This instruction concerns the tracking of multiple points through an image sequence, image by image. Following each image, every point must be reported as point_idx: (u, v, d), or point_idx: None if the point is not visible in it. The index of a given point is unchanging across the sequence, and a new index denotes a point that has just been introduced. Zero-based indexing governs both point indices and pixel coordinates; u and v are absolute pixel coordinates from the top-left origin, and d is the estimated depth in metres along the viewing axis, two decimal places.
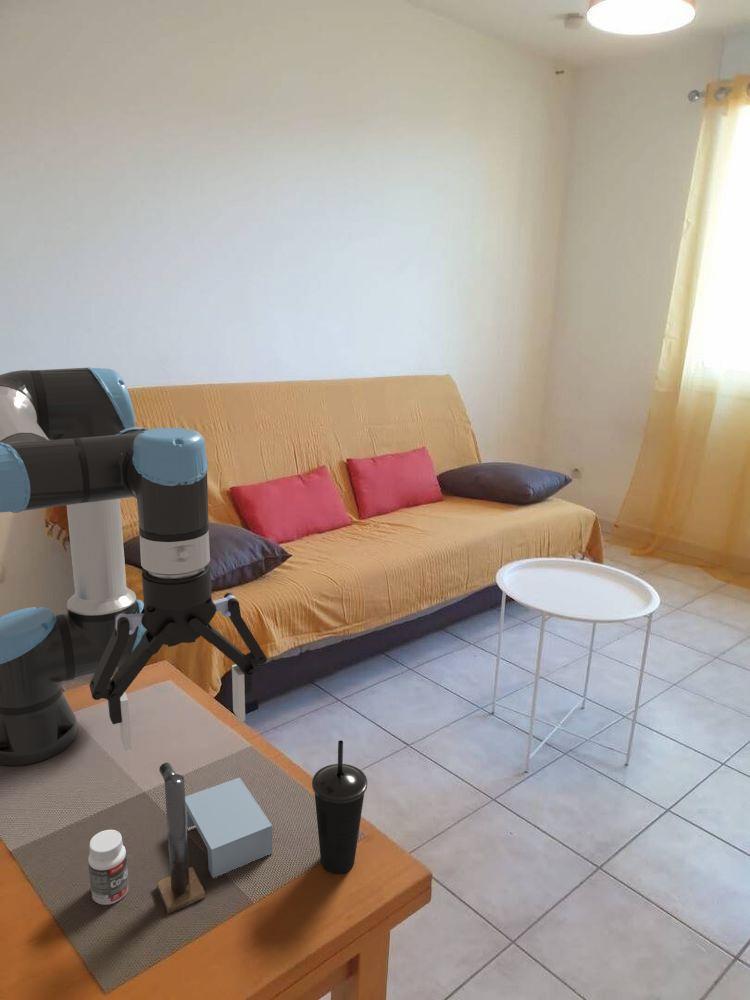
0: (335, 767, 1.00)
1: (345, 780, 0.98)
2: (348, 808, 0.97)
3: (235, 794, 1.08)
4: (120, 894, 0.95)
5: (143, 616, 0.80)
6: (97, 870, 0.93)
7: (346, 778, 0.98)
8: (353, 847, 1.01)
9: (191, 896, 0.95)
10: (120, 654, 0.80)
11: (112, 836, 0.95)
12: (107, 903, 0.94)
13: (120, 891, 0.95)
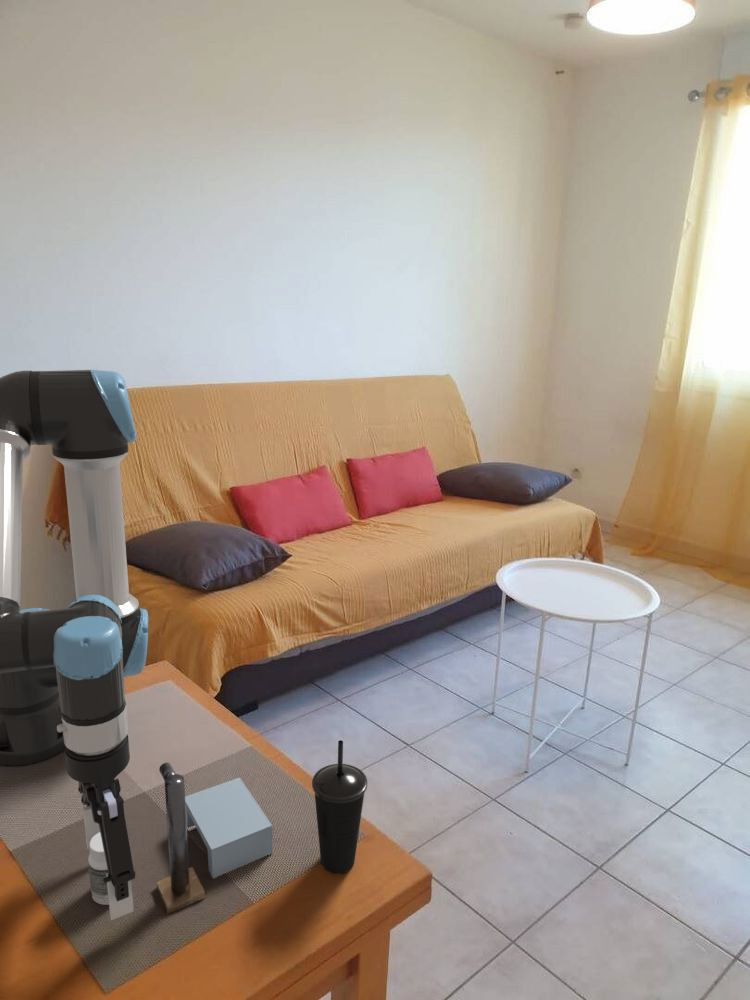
0: (335, 767, 1.00)
1: (345, 780, 0.98)
2: (348, 808, 0.97)
3: (235, 794, 1.08)
4: None
5: None
6: (97, 870, 0.93)
7: (346, 778, 0.98)
8: (353, 847, 1.01)
9: (191, 896, 0.95)
10: None
11: None
12: (107, 903, 0.94)
13: None
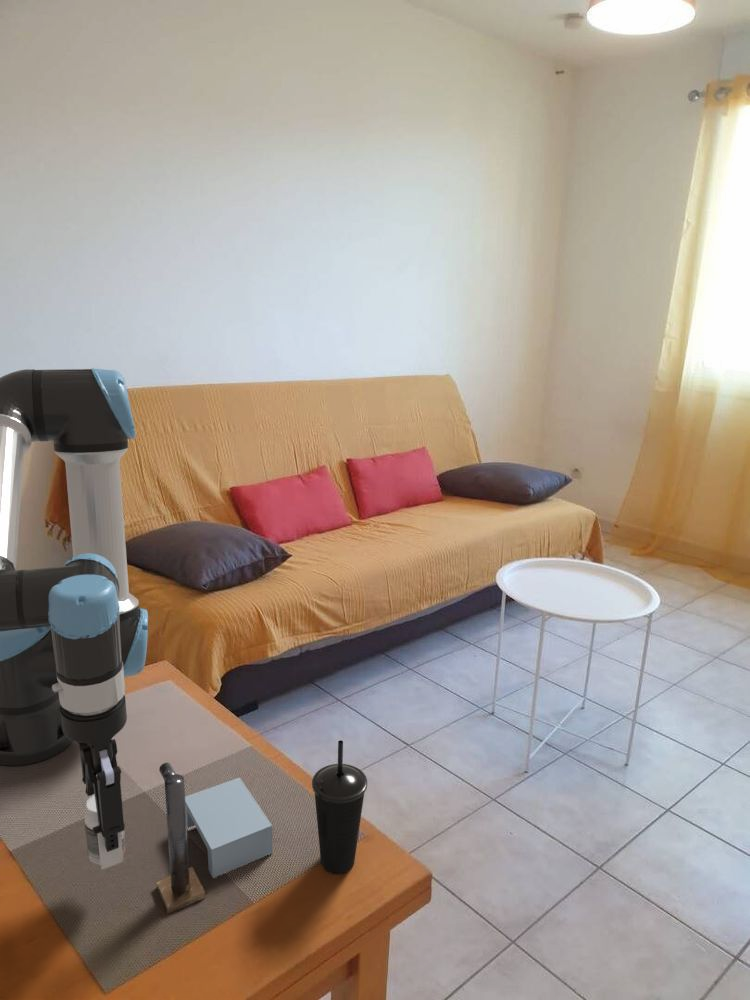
0: (335, 767, 1.00)
1: (345, 780, 0.98)
2: (348, 808, 0.97)
3: (235, 794, 1.08)
4: None
5: None
6: None
7: (346, 778, 0.98)
8: (353, 847, 1.01)
9: (191, 896, 0.95)
10: None
11: None
12: None
13: None
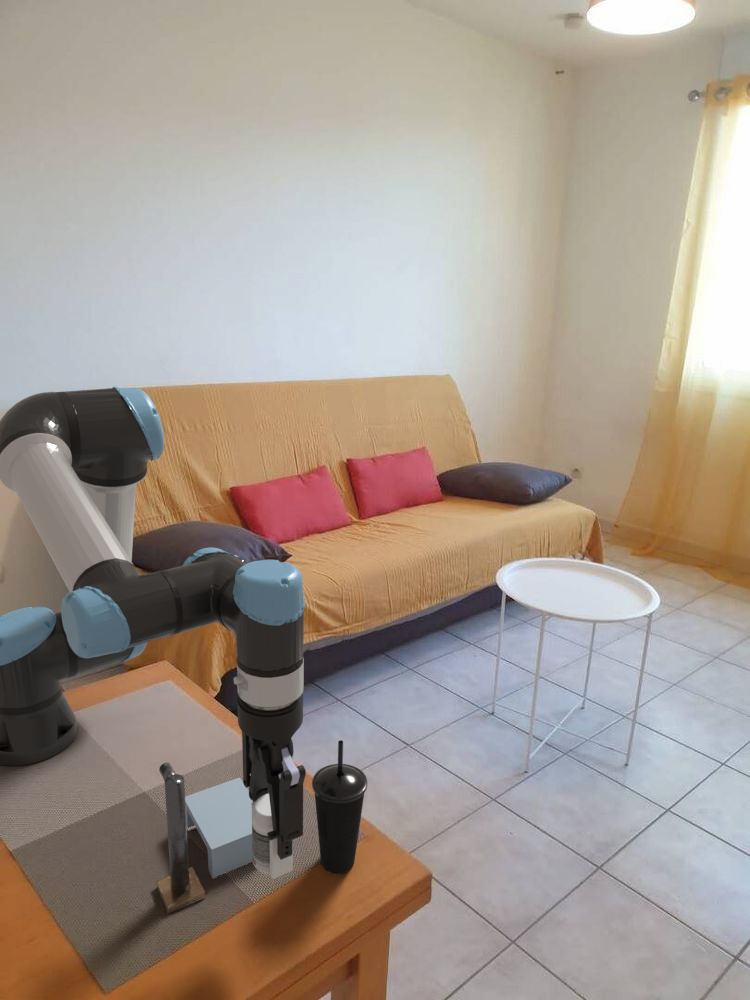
0: (335, 767, 1.00)
1: (345, 780, 0.98)
2: (348, 808, 0.97)
3: (235, 794, 1.08)
4: None
5: None
6: (264, 836, 0.85)
7: (346, 778, 0.98)
8: (353, 847, 1.01)
9: (191, 896, 0.95)
10: (245, 749, 0.89)
11: None
12: None
13: None
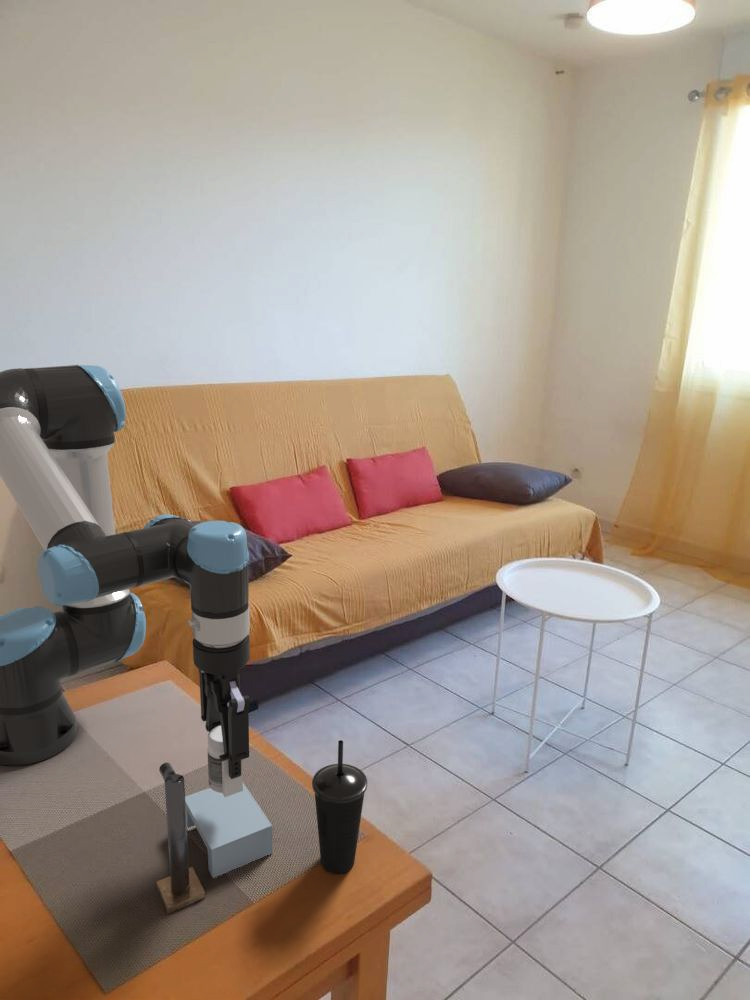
0: (335, 767, 1.00)
1: (345, 780, 0.98)
2: (348, 808, 0.97)
3: (235, 794, 1.08)
4: None
5: None
6: (217, 759, 1.00)
7: (346, 778, 0.98)
8: (353, 847, 1.01)
9: (191, 896, 0.95)
10: (202, 687, 1.03)
11: None
12: None
13: None
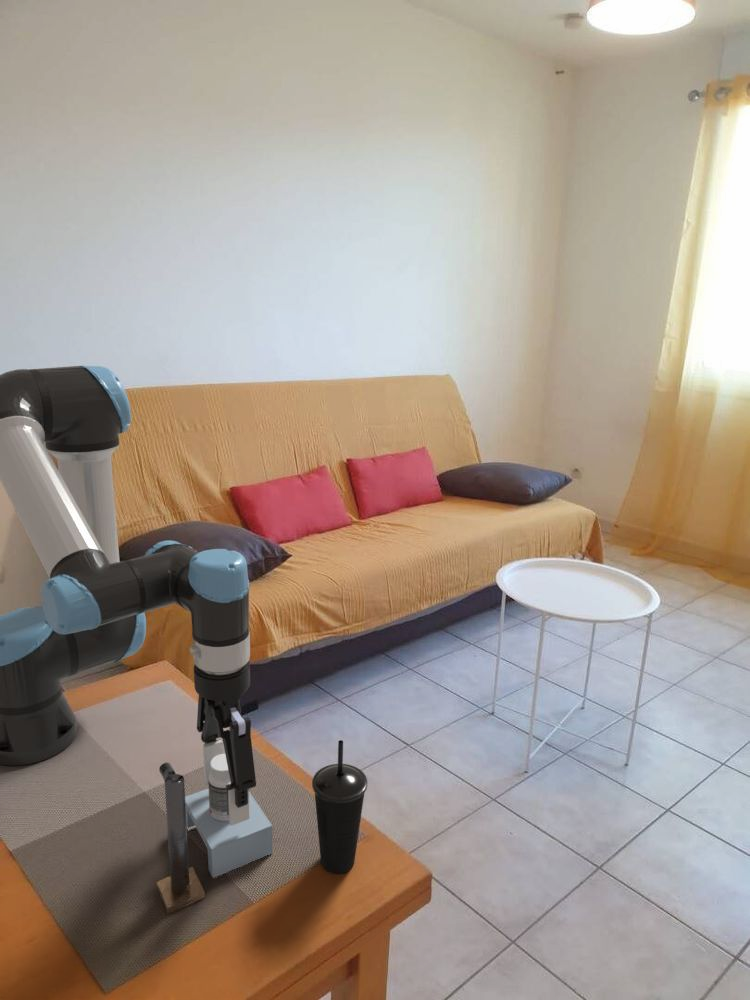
0: (335, 767, 1.00)
1: (345, 780, 0.98)
2: (348, 808, 0.97)
3: None
4: None
5: None
6: (218, 788, 1.01)
7: (346, 778, 0.98)
8: (353, 847, 1.01)
9: (191, 896, 0.95)
10: (200, 705, 1.05)
11: None
12: (225, 819, 1.03)
13: None
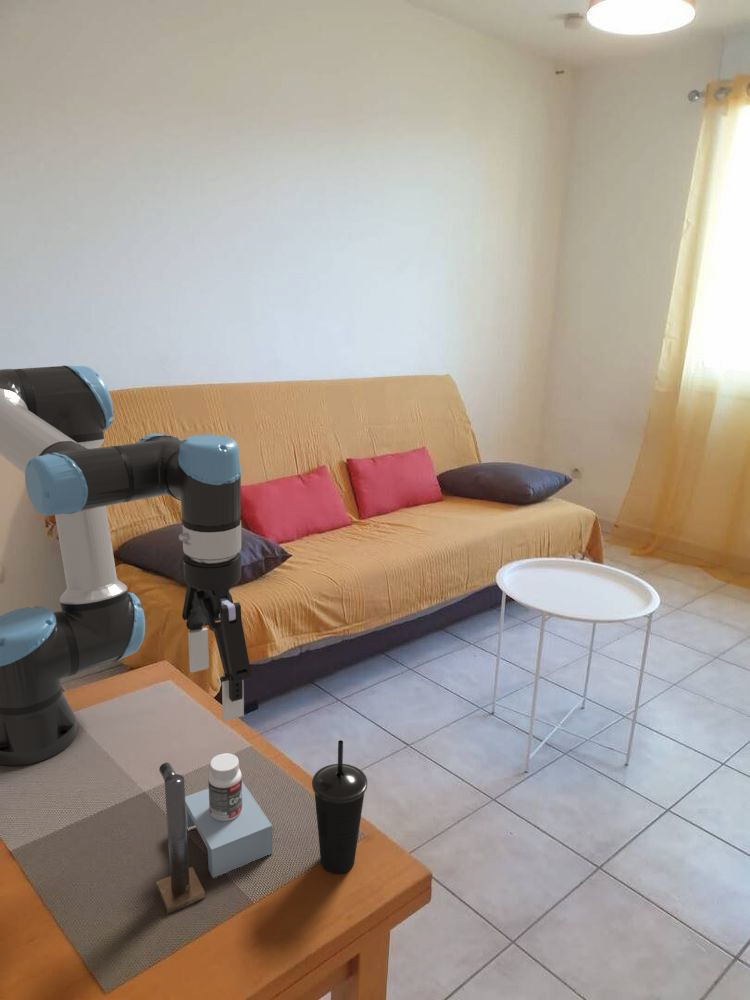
0: (335, 767, 1.00)
1: (345, 780, 0.98)
2: (348, 808, 0.97)
3: None
4: (237, 812, 1.03)
5: None
6: (218, 788, 1.01)
7: (346, 778, 0.98)
8: (353, 847, 1.01)
9: (191, 896, 0.95)
10: (188, 596, 1.03)
11: (229, 758, 1.03)
12: (225, 819, 1.03)
13: (237, 809, 1.03)
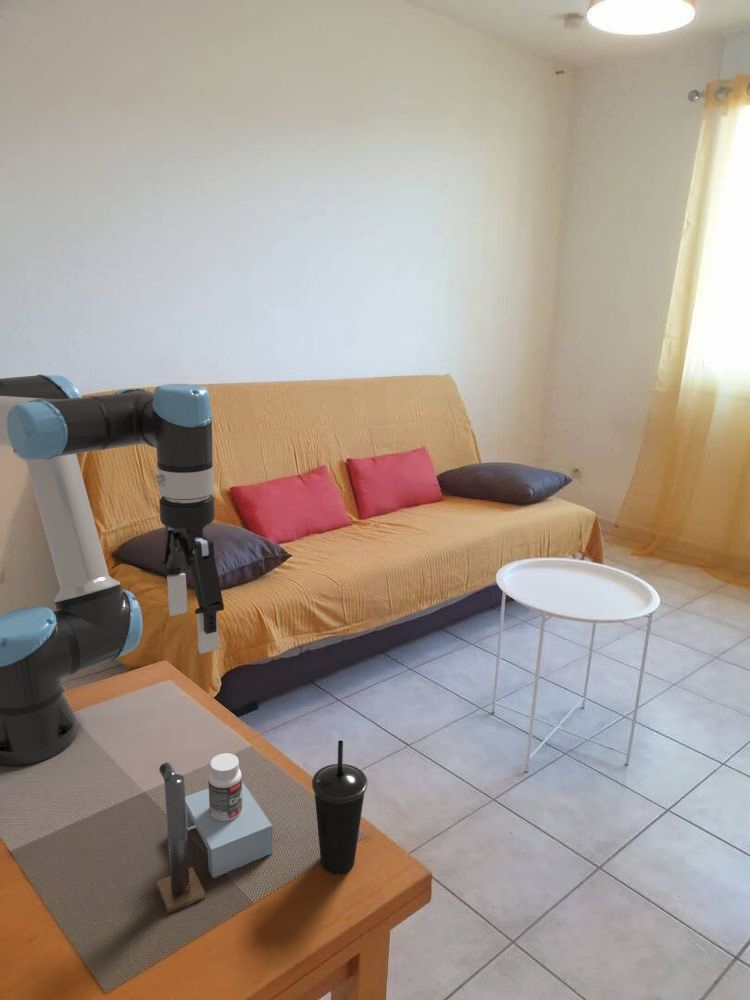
0: (335, 767, 1.00)
1: (345, 780, 0.98)
2: (348, 808, 0.97)
3: None
4: (237, 812, 1.03)
5: None
6: (218, 788, 1.01)
7: (346, 778, 0.98)
8: (353, 847, 1.01)
9: (191, 896, 0.95)
10: (166, 541, 1.09)
11: (229, 758, 1.03)
12: (225, 819, 1.03)
13: (237, 809, 1.03)
